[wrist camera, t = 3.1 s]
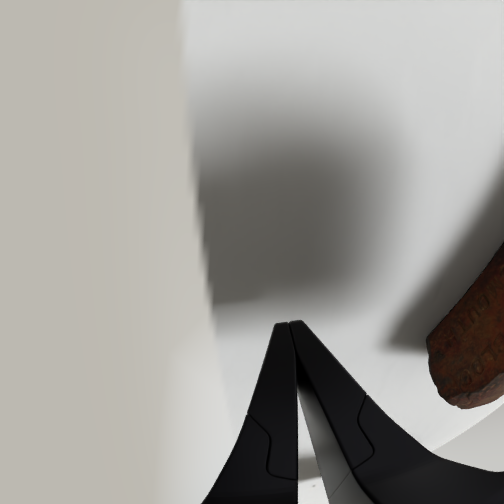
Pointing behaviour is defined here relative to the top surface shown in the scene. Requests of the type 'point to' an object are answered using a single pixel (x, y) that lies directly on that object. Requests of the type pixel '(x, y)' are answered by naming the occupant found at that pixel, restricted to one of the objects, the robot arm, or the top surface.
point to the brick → (472, 343)
